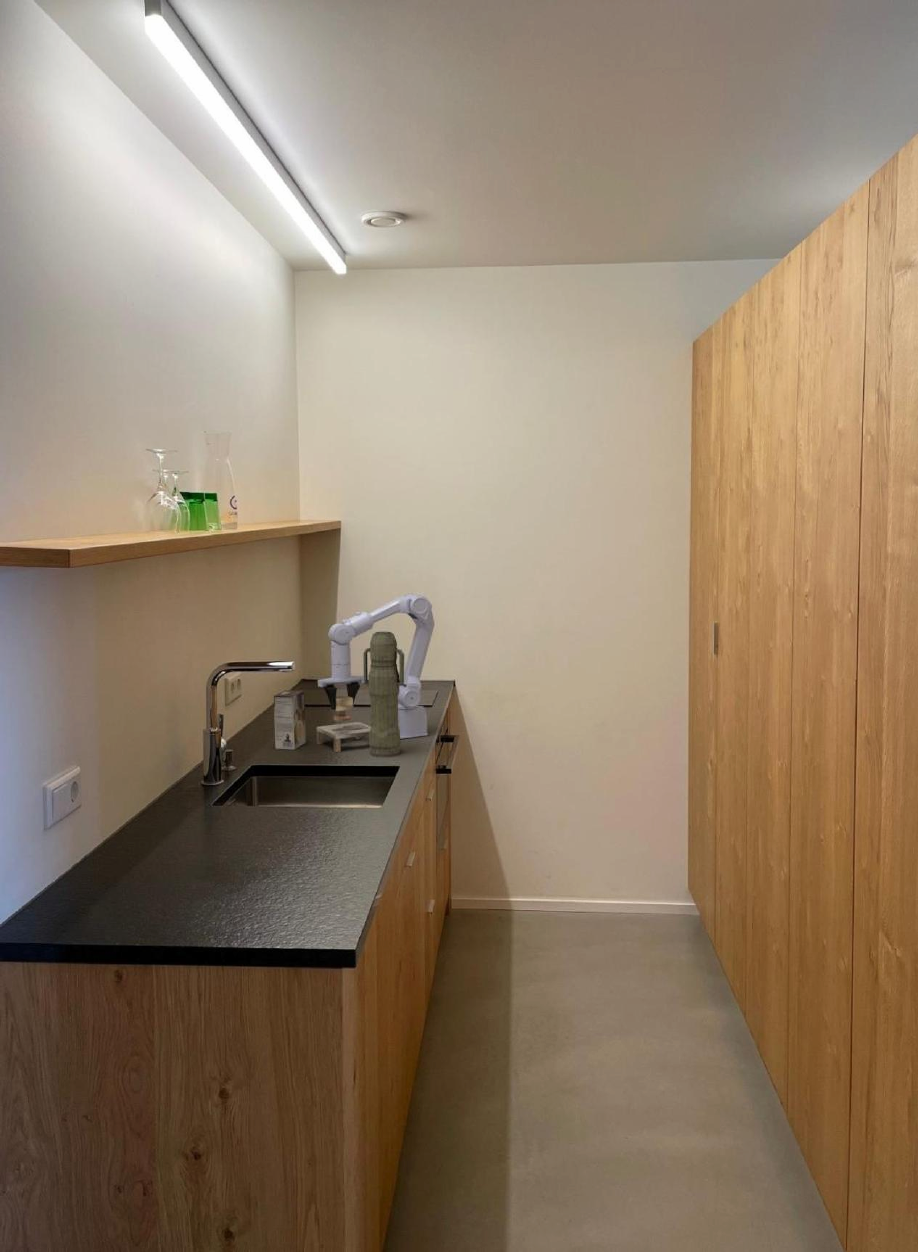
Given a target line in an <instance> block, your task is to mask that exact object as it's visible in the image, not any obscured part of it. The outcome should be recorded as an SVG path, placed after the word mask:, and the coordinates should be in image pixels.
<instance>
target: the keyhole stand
mask: <svg viewBox="0 0 918 1252" xmlns="http://www.w3.org/2000/svg"><path fill="white" fill-rule="evenodd" d="M370 729H371V725H368V724H365V723H363V722H360V721H354V722H347V723H337V724H332V725H331V724H329V725H322V726H316V743H317V744H318V745H323V744H322V743H324V741H325V739H324V735H326V736H328V737H330V738H333V739H332V740H333V752H334V753H336V752H337V753H341V752H342V750H341V739H347V738H354V739H355V738H361V739H362V736H369V732H370Z"/></svg>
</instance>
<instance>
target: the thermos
mask: <svg viewBox="0 0 918 1252" xmlns="http://www.w3.org/2000/svg"><path fill="white" fill-rule="evenodd" d="M369 644H370V645H369V647H367V648H365V650H364V652H363V676H364V685H367V686H368V694H369V698H370V726H371V729H370V732H369V735H368V745H369V755H370V754H371V756H373V757H378V758H382V757H383V758H390V757H394V756H395V757H396V756H398V755H400V753H401V749H400V746H401V738H400V729H399V727H398V695H399V692H400V689H399V686H401V685H402V684H403V683H404V670H405V653H404V652H403V650H402V649H399V648H398V643H397V639H396V636H395V633H393V632H391V631H376V632H374V633H372V636H371V638H370V643H369ZM368 654H369V656H370V665H369V666H370V669H369V670H368ZM398 657H399V662H398V663H399V670H398V664H397V660H398ZM368 671H369V672H368ZM399 679H400V681H399ZM389 756H390V757H389Z"/></svg>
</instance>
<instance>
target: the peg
mask: <svg viewBox="0 0 918 1252" xmlns="http://www.w3.org/2000/svg"><path fill="white" fill-rule="evenodd" d="M351 710H354V704H353V698H351V697H349V696H348V695H339V696H337V695H336V710H335V711H336V712H338V713H337V714H334V715H333V720H334V722H335V721H336V722H347V721H350V720H351V718H352V717H351V714H350V713H346V711H351Z"/></svg>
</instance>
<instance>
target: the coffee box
mask: <svg viewBox="0 0 918 1252" xmlns="http://www.w3.org/2000/svg"><path fill="white" fill-rule="evenodd" d="M305 701H306V700H305V690H291V689H290V690H288V689H287V690H283V691H280V692H279V693H277V694H275V695H273V712H274V714H273V715H274V740H275V741H274V743H275V746H274V748H275V749H276V750H296V749H298V748H299V747H301V746H302V745H304V744H306V743H307V739H306V738H307V737H306V736H307V735H306V733H307V731H306V705H305V704H306V702H305Z"/></svg>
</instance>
